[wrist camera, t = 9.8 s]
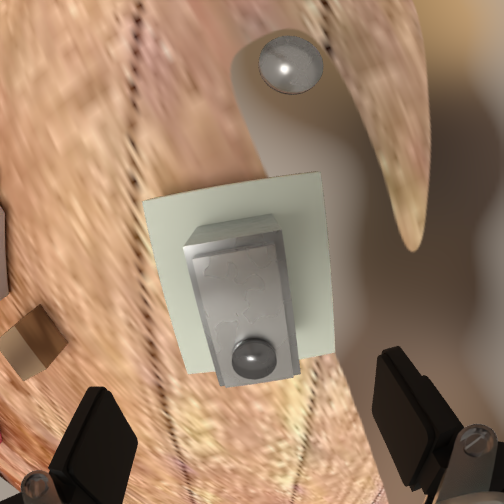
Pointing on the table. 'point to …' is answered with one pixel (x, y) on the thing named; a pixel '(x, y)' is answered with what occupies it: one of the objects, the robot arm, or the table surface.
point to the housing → (244, 299)
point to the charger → (3, 258)
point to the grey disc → (290, 65)
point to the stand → (237, 207)
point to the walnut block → (32, 343)
